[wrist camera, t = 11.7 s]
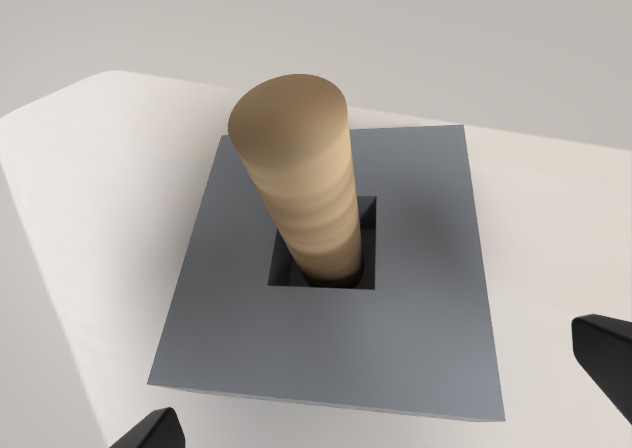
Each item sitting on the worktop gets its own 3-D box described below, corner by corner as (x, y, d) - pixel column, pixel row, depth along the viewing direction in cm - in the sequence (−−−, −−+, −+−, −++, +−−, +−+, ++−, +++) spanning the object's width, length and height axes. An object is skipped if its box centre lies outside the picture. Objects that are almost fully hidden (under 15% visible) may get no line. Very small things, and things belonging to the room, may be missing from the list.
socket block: (476, 422, 18) (505, 421, 14) (194, 392, 21) (146, 384, 17) (450, 174, 26) (463, 124, 22) (245, 178, 29) (221, 135, 25)
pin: (377, 271, 22) (372, 115, 11) (325, 309, 21) (264, 184, 10) (339, 228, 24) (303, 58, 13) (291, 261, 23) (209, 113, 12)
